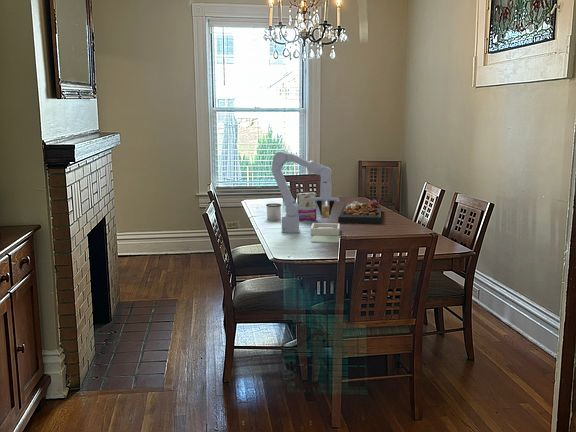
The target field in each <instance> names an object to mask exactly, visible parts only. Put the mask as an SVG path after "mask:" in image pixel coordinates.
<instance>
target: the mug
mask: <svg viewBox="0 0 576 432" xmlns="http://www.w3.org/2000/svg"><path fill="white" fill-rule="evenodd" d="M265 206H266V220H269V221H279V220H282V214H281V212H282V211H281V210H282V209H281V207H282V206H283V205H282V203H276V202H275V203H267V204H265Z"/></svg>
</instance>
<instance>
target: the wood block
mask: <svg viewBox="0 0 576 432" xmlns="http://www.w3.org/2000/svg"><path fill="white" fill-rule="evenodd" d="M321 218H322V219H329V218H330V215H329V205H322V215H321Z"/></svg>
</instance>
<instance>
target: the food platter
mask: <svg viewBox="0 0 576 432" xmlns="http://www.w3.org/2000/svg"><path fill="white" fill-rule="evenodd" d="M381 221H382V205H381V204H380V197H379V198H378V201H377V200H376V199H372V202H371V200H370V198H369V199H368V202H362V203H360V202H358V201H356V200H354V201H352V203H349V202H348V203H345V204H343V205H342V207H341V209H340V212H339V214H338V217H337V224H357V223H358V225H359V224H360V223H361V224H365V225H369V224H370V225H381V224H382V222H381Z"/></svg>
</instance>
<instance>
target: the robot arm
mask: <svg viewBox="0 0 576 432" xmlns="http://www.w3.org/2000/svg"><path fill="white" fill-rule="evenodd" d="M272 157H273V158H272V164H271V172H272V174H273V178H274V179H275V183H276V184H277V186H278V189H279V192H280V194H281V196H282V198H283V203H284V206H285V211H284V212H285V215H281V233H292V234H293V233H296V234H297V233H298V234H299V233H300V232H301V229H300V221H299V214H298V211H299V205H298V204H297V201H296V199H295V198H294V197H293V195H292V192H291V191H290V190H291V189H290V187H289V185H288V183H287V181H286V178H285V176H284V173H283V170H282V168H284V166H285V165H284V164H286V163H289V162H291V163H295V164H298V165H300V166H303V167H305V168H306V169H307V171H308V172H311V173H312V174H314V175H316V176H320V183H319V184H320V185H319V186H320V188H319V190H320V192H319V196H316V197H312V201H316V206H317V207H318V209H319V215H320V216H322V206H323V202H329V205H328V206H329V216H331V214H332V213H331V212H332V210H333V207H334V204H335V202H340V197H332V177H331V175H332V173H333V172H332V169H331V168H330V167H329V166H327V165H326V166H325V164H321V163H318V162H317V161H316V160H310V161H308V160H306V159H304V158H302V157H300V156H298V155H296V154H295V153H291V152H289V151H286V150H280V151H276V153H275V154H274V155H273V156H272Z"/></svg>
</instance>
